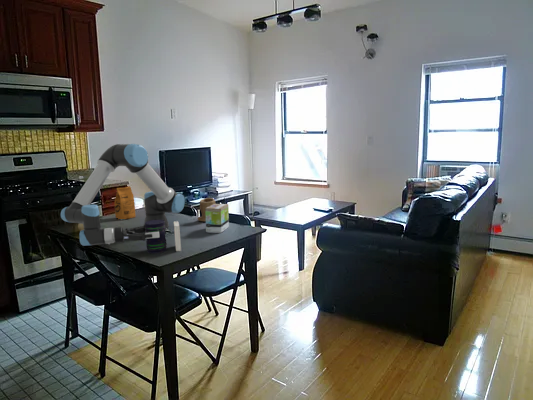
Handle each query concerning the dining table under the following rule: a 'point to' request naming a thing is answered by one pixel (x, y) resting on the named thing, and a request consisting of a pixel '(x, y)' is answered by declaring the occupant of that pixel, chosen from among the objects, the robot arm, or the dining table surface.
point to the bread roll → (80, 227)
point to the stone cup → (203, 205)
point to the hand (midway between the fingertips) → (159, 231)
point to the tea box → (217, 218)
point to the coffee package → (124, 203)
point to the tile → (177, 236)
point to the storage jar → (156, 243)
